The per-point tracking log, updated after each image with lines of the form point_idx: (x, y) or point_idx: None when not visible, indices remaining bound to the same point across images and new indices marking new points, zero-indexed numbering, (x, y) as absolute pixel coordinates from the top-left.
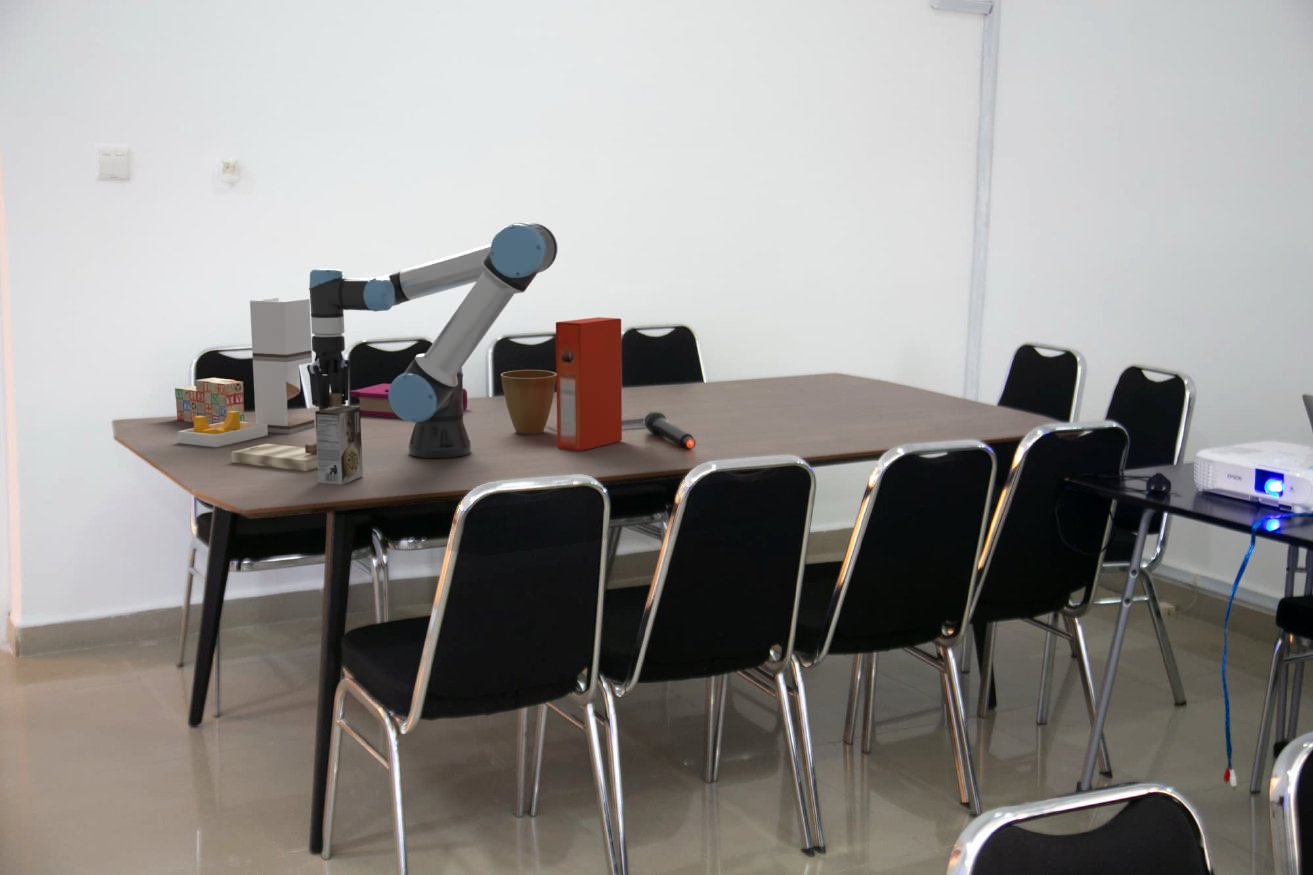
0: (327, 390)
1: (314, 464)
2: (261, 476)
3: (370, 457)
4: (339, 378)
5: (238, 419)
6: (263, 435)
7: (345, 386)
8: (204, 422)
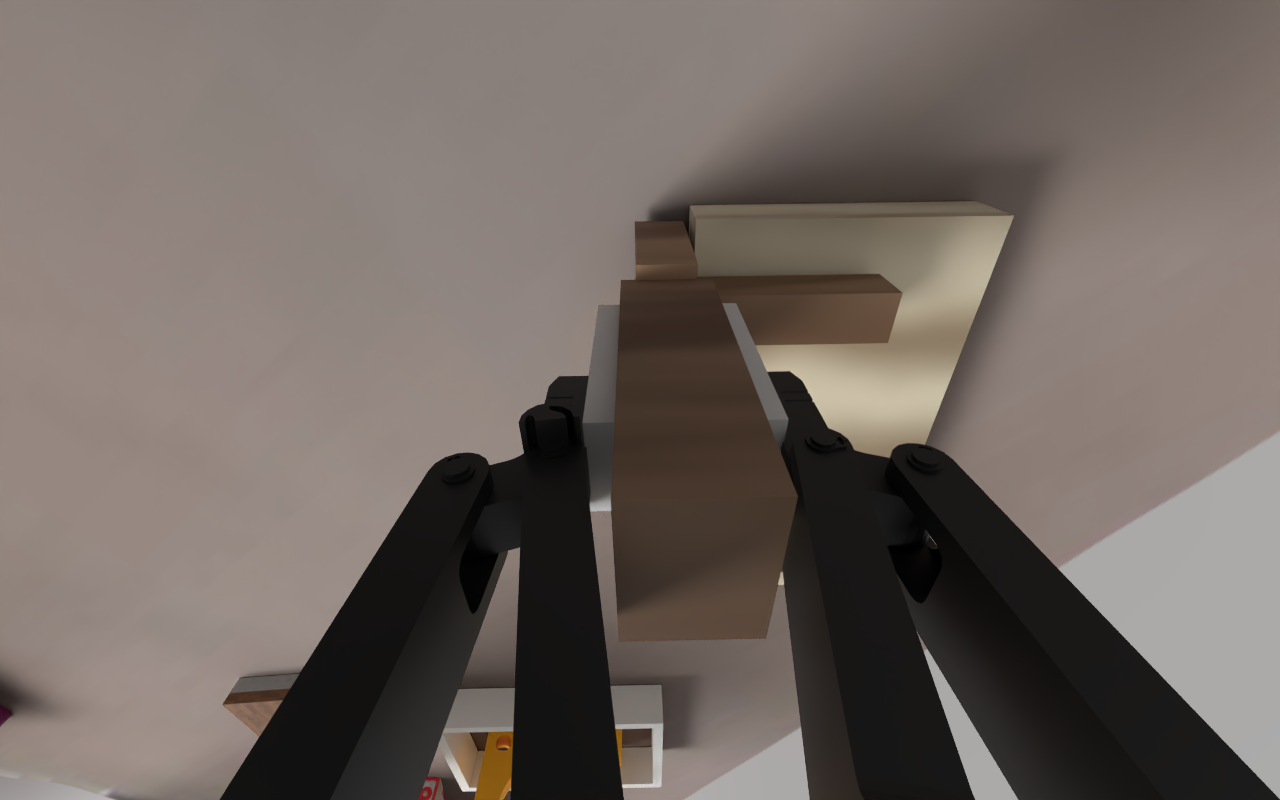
0: (871, 588)
1: (913, 208)
2: (1124, 309)
3: (492, 118)
4: (549, 776)
5: (482, 780)
6: (459, 692)
7: (421, 605)
8: None
